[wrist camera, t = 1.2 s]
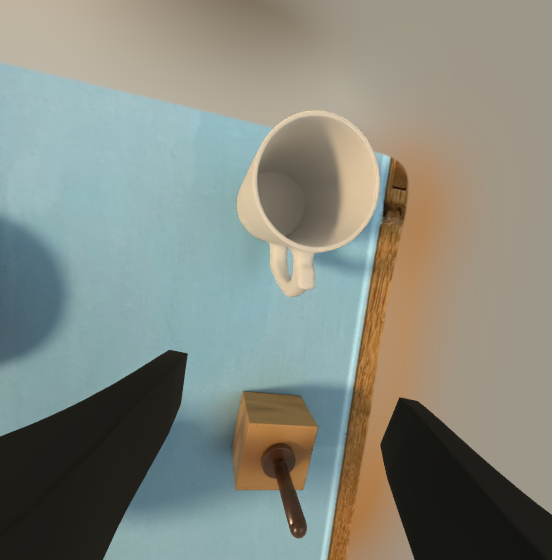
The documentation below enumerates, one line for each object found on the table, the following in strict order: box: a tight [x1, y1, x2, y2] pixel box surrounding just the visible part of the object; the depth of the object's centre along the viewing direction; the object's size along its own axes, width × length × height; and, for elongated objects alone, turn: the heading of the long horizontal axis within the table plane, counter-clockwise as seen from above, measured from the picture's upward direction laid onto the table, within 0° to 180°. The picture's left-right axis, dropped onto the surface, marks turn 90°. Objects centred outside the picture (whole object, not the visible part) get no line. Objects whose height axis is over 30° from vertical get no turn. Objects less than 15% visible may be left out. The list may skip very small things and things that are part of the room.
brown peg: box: [261, 443, 307, 538], centre depth 21 cm, size 3×3×6 cm
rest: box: [232, 391, 318, 490], centre depth 27 cm, size 6×6×5 cm
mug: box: [237, 110, 380, 297], centre depth 21 cm, size 10×7×12 cm, turn 178°
